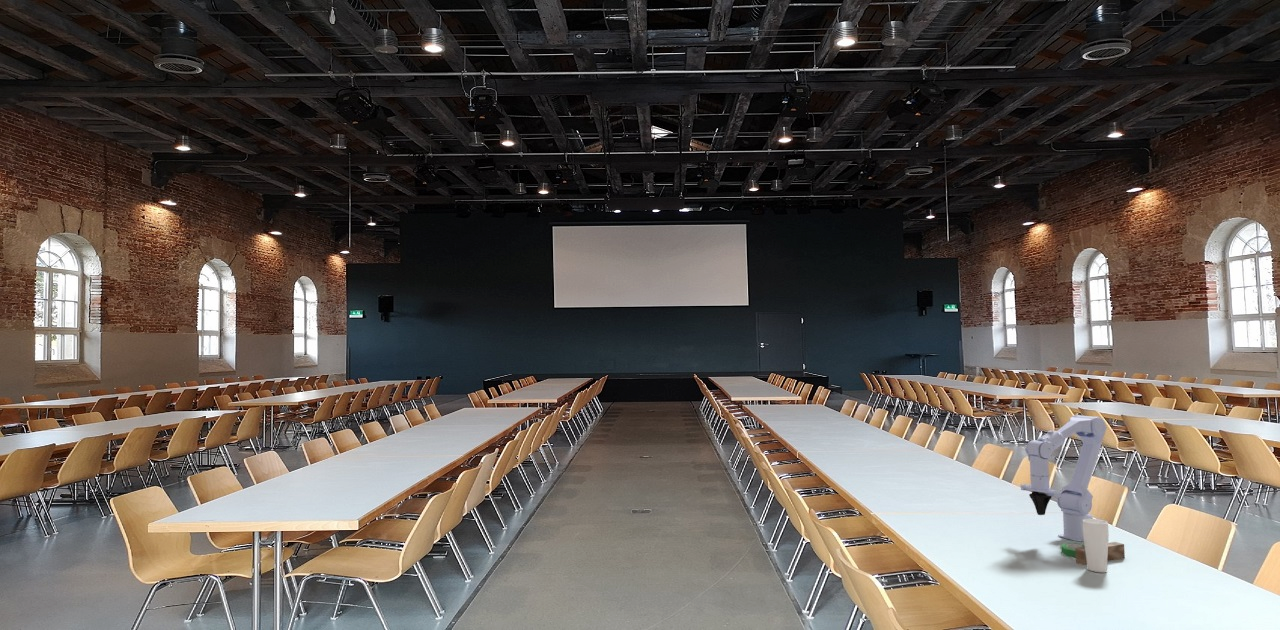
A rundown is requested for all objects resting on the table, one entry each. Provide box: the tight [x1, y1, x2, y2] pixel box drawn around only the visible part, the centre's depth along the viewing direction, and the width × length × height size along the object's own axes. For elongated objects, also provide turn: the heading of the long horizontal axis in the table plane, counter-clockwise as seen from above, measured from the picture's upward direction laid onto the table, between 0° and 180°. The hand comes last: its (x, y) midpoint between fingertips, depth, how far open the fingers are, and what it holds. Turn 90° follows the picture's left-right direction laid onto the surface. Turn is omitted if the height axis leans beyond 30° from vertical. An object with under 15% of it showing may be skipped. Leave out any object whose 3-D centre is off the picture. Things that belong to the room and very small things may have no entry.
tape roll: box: [1060, 542, 1085, 559], centre depth 239 cm, size 11×11×3 cm
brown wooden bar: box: [1075, 541, 1126, 566], centre depth 232 cm, size 18×3×4 cm, turn 110°
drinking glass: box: [1083, 518, 1110, 573], centre depth 223 cm, size 7×7×15 cm
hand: (1041, 514), depth 252 cm, fingers closed
